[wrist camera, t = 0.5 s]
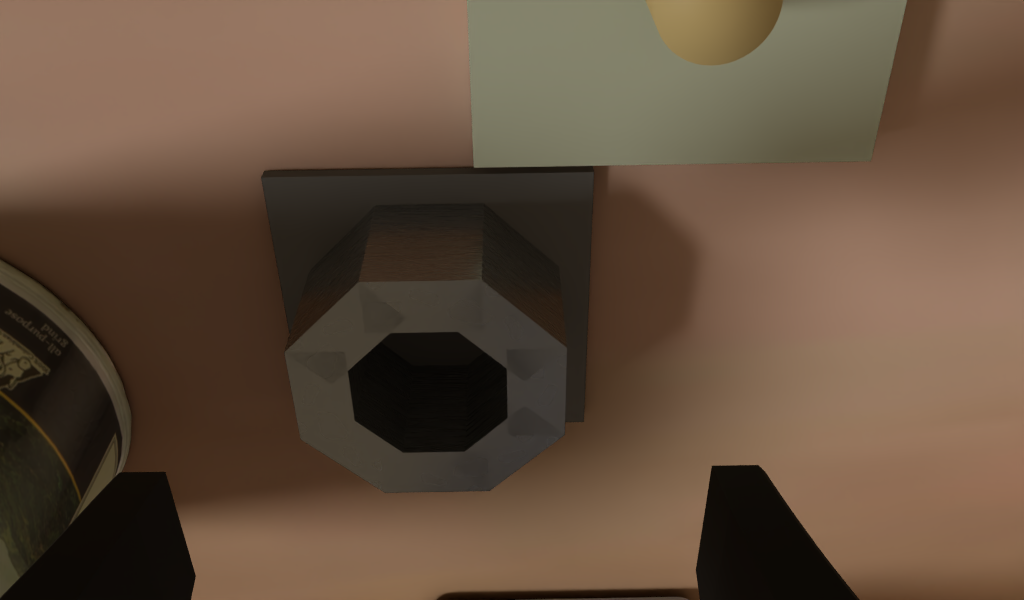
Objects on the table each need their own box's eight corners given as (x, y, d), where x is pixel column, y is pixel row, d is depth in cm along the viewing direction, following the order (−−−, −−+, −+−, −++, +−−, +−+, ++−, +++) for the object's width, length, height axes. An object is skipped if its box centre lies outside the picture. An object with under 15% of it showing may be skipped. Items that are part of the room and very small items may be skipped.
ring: (556, 401, 23) (563, 489, 21) (330, 404, 23) (310, 493, 21) (560, 202, 20) (568, 278, 18) (298, 206, 20) (271, 283, 18)
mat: (582, 414, 24) (583, 422, 24) (308, 418, 24) (306, 426, 24) (592, 165, 20) (594, 172, 20) (263, 171, 20) (261, 177, 20)
